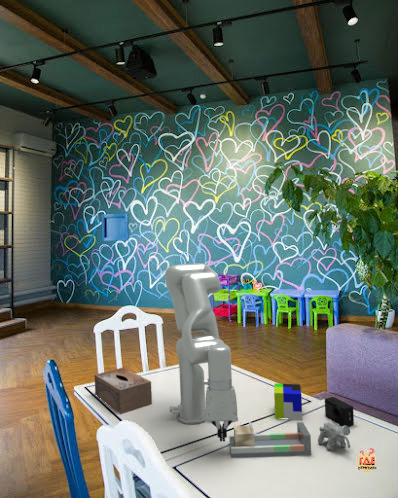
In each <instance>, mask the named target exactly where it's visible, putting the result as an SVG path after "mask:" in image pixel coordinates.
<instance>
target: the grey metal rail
mask: <svg viewBox="0 0 398 498" xmlns="http://www.w3.org/2000/svg"><path fill="white" fill-rule="evenodd" d="M228 438H229V439H228V440H229V442H230V443H229V449H230V455H231V458H232V459H233V458H235V459H237V458H259V457H260V458H261V457H294V456H311V455H312V450H311V451H305V448H304V444H301V443H300V441H299V439H298V433H297V432H282V433H281V432H279V433H255V436H254V446H241V447H235V443H234V434H229V436H228Z"/></svg>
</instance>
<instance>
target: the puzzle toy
mask: <svg viewBox="0 0 398 498" xmlns="http://www.w3.org/2000/svg"><path fill="white" fill-rule="evenodd" d="M273 388H274V391H273V392H274V393H273V395H274V398H273V399H274V419H275V418H288V419H290V420H289V421H303V403H302V401H303V399H302V388H301V384H300V383H298V384H297V383H296V384H295V383H274V387H273Z"/></svg>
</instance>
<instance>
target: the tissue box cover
mask: <svg viewBox="0 0 398 498" xmlns="http://www.w3.org/2000/svg"><path fill="white" fill-rule="evenodd" d="M94 393H95V394H94V395H97V396H98V397H99V398H101V399H102V400H103V401H104V402H103V401H102V400H101V401H102V402H103V403H105V402H106V403H107V404H108V406H109V405H110V406H111V407H110V406H109V407H110V408H111V409H113V410H114V409H115V411H116V412H117V413H119V414H120V415H123V414H126V413H128V412H133V411H135V410H138V409H142V408H145V407H148V406H150V405H153V399H152V396H153V395H152V381H151V380H149V379H148V378H145V377H143V376H141V375H139V374H138V373H135V372H133V371H132V370H129V369H128V368H125V367H120V368H116V369H115V368H114V369H113V370H109V371H104V372H100V373H96V374H94ZM98 397H97V398H98ZM99 398H98V399H99ZM106 403H105V404H106ZM107 404H106V405H107Z"/></svg>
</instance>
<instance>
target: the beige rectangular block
mask: <svg viewBox="0 0 398 498" xmlns="http://www.w3.org/2000/svg"><path fill="white" fill-rule="evenodd" d="M255 434H256V433H255V431H254V428H253V424H252V421H248V425H233V435H234V443H235V447H241V446H254V436H255Z"/></svg>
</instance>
